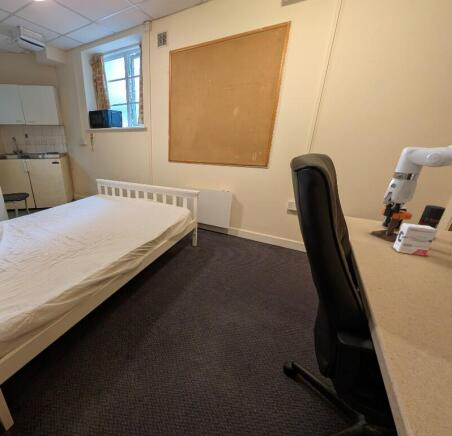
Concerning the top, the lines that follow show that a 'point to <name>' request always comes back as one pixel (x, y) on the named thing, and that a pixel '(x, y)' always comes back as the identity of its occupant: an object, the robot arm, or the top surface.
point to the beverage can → (388, 219)
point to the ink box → (414, 239)
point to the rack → (388, 231)
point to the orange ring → (400, 215)
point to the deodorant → (431, 216)
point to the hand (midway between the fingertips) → (390, 215)
